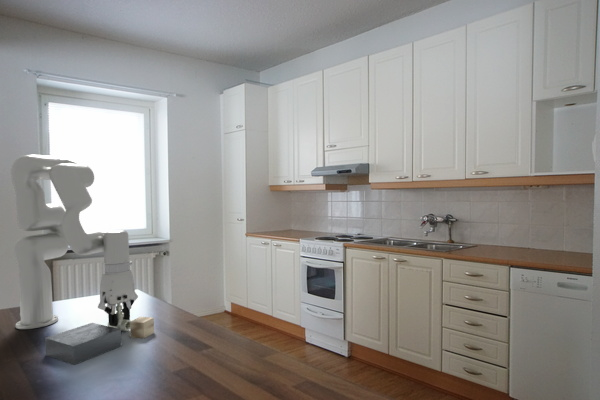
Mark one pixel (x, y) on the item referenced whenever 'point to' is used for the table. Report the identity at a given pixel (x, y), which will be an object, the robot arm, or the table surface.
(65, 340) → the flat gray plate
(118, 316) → the valve
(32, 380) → the table surface
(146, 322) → the pale wood block
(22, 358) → the table surface
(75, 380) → the table surface
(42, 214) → the robot arm
